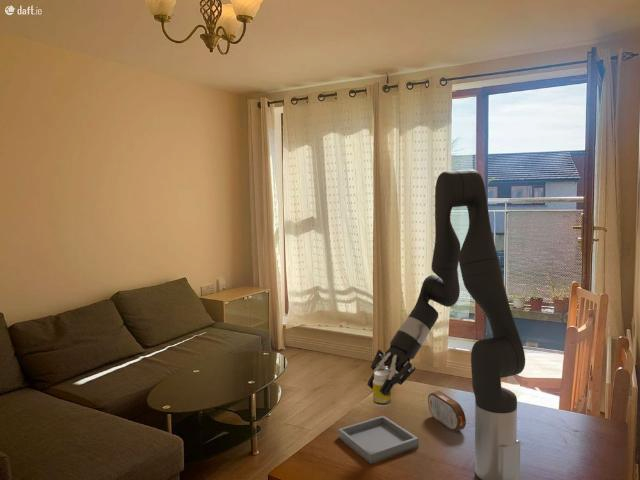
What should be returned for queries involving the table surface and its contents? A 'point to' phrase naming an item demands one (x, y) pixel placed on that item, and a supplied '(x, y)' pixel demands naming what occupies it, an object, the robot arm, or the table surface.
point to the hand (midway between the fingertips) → (376, 390)
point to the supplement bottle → (377, 384)
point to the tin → (446, 411)
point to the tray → (378, 439)
